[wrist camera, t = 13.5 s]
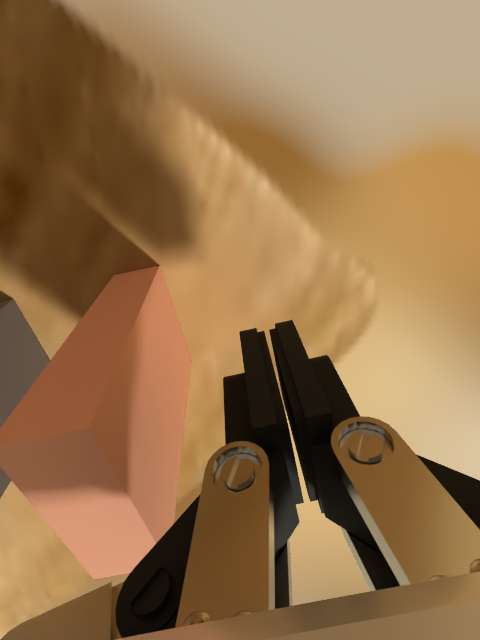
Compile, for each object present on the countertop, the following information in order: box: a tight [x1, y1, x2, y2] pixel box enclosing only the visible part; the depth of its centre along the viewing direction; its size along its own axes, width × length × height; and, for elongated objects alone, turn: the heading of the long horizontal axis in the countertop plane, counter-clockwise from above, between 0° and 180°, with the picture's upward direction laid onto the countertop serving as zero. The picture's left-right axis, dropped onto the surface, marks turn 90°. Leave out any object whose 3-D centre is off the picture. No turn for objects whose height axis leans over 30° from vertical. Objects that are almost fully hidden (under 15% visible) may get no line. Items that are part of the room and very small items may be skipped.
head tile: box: [0, 265, 191, 579], centre depth 11 cm, size 5×2×9 cm, turn 11°
